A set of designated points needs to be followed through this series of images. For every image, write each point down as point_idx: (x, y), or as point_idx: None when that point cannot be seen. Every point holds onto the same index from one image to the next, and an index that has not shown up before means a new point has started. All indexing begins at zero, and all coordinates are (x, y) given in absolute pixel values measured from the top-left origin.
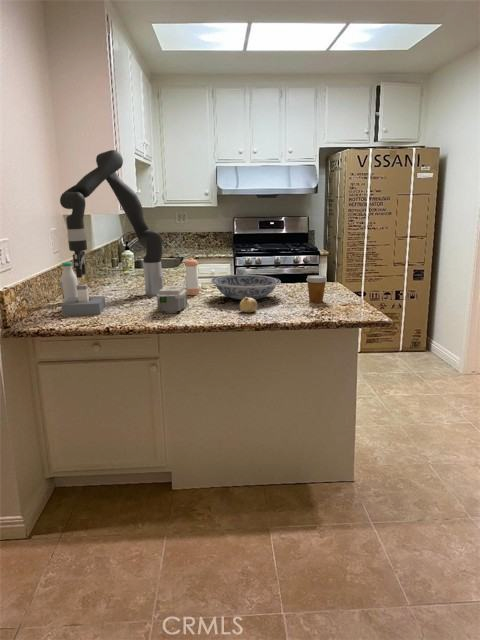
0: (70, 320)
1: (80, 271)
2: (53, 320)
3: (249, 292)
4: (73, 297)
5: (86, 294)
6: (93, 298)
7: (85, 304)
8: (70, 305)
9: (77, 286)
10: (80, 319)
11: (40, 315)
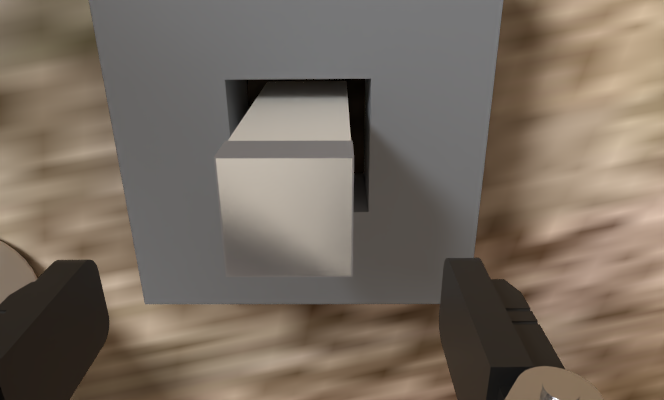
0: (607, 171)
1: (512, 342)
2: (557, 285)
3: None
4: (142, 271)
5: (348, 126)
6: (213, 62)
7: (491, 96)
8: (473, 231)
9: (352, 263)
10: (606, 99)
11: (378, 389)
